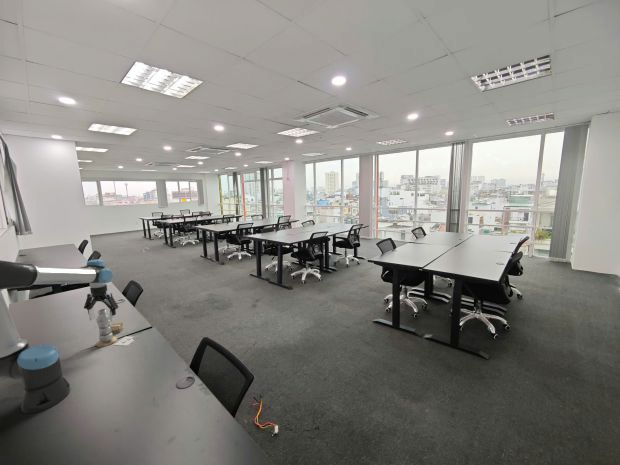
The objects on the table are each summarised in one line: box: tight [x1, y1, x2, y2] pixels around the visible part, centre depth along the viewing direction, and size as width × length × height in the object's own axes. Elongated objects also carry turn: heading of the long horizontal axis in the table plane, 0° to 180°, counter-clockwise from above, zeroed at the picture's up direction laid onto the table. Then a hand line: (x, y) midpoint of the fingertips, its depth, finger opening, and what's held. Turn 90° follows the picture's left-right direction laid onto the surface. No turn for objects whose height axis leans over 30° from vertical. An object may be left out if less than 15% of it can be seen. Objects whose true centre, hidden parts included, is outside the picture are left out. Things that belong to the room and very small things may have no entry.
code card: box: [113, 336, 135, 347], centre depth 155 cm, size 9×9×1 cm
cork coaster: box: [95, 336, 118, 348], centre depth 154 cm, size 10×10×1 cm
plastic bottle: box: [95, 308, 114, 343], centre depth 153 cm, size 6×7×20 cm
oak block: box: [110, 321, 124, 335], centre depth 166 cm, size 5×5×5 cm
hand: (102, 319), depth 151 cm, fingers open, 13 cm apart
